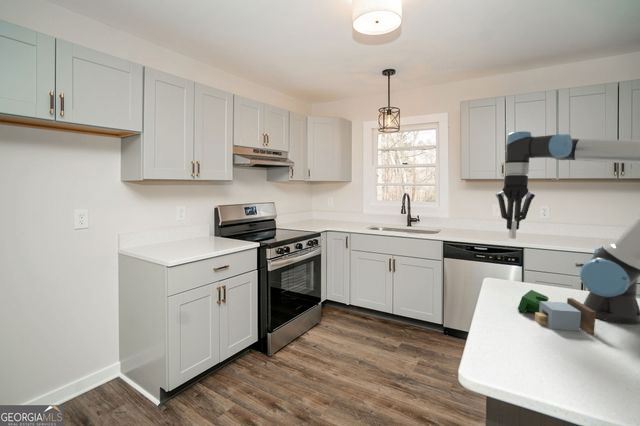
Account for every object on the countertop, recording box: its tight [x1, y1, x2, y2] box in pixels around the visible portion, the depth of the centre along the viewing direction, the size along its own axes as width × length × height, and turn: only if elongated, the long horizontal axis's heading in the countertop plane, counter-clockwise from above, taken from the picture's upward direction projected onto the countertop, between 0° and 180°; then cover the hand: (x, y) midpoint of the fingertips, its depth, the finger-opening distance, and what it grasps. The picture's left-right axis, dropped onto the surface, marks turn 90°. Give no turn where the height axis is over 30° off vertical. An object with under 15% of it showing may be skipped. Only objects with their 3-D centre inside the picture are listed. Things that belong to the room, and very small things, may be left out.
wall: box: [566, 297, 596, 335], centre depth 106 cm, size 2×12×7 cm, turn 171°
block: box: [539, 301, 581, 332], centre depth 107 cm, size 8×8×6 cm
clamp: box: [517, 289, 549, 314], centre depth 119 cm, size 12×6×9 cm
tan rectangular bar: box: [534, 312, 549, 326], centre depth 108 cm, size 7×3×3 cm, turn 80°
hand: (512, 238), depth 126 cm, fingers closed
